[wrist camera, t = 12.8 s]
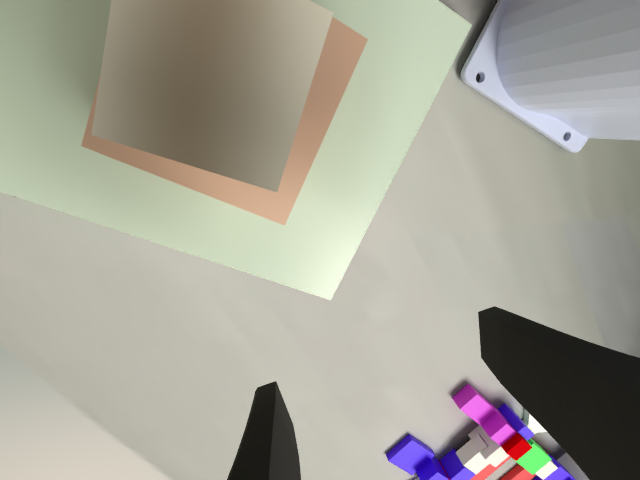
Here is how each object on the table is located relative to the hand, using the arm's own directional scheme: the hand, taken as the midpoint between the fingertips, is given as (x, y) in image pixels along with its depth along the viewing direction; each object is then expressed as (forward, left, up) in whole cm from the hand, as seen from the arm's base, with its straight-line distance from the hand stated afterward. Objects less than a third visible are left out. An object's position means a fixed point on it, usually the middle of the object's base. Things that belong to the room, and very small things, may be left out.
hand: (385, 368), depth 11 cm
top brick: (+8, -6, -5) cm, 11 cm away
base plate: (+8, -6, -9) cm, 14 cm away
